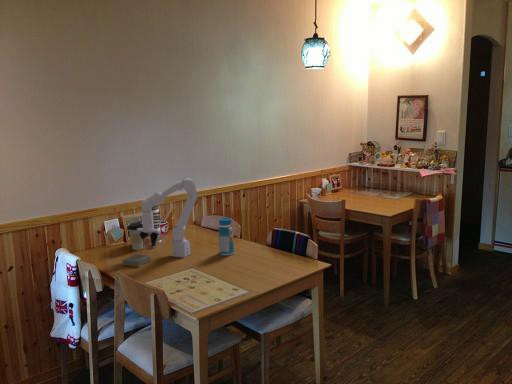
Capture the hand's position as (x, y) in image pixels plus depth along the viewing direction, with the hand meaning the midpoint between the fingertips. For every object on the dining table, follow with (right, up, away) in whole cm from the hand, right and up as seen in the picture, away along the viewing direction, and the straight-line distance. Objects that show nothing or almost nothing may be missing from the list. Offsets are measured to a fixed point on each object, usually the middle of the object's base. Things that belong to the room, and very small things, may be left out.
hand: (149, 245), depth 258 cm
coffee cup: (-11, -4, +18) cm, 22 cm away
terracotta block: (0, -2, 0) cm, 2 cm away
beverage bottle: (+43, -5, +4) cm, 43 cm away
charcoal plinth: (-5, -9, -7) cm, 12 cm away
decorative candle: (-4, -1, +32) cm, 32 cm away
